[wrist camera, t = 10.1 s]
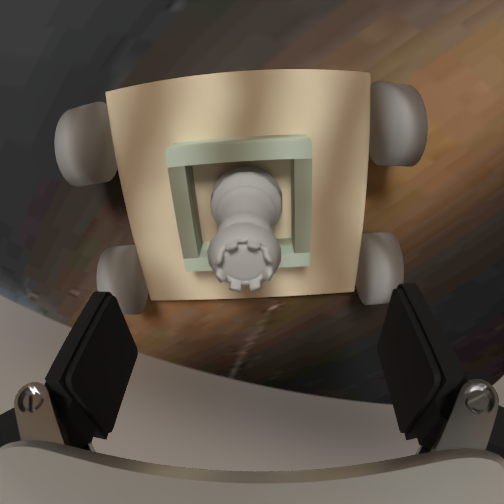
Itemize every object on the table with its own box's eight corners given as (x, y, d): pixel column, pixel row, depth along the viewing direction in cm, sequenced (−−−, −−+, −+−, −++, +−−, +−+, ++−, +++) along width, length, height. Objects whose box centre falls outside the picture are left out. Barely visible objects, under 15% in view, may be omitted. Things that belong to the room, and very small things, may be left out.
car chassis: (392, 75, 17) (429, 79, 13) (373, 280, 25) (392, 322, 21) (87, 97, 18) (46, 107, 13) (133, 291, 26) (114, 333, 21)
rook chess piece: (258, 240, 22) (260, 322, 15) (199, 209, 21) (173, 282, 14) (295, 187, 20) (319, 253, 13) (233, 150, 19) (222, 199, 12)
